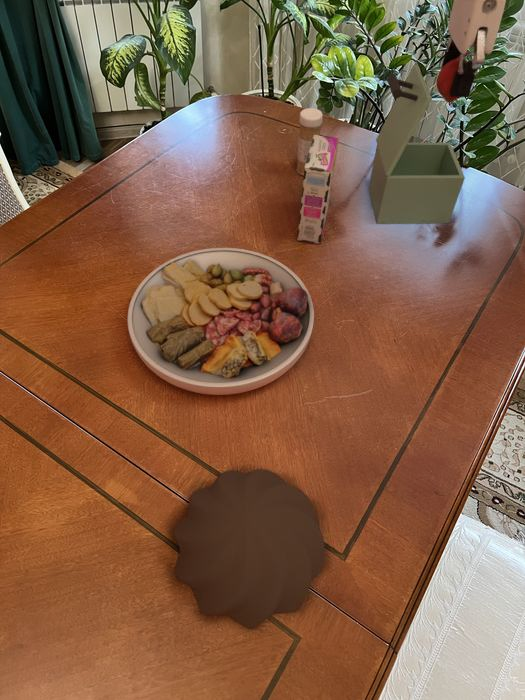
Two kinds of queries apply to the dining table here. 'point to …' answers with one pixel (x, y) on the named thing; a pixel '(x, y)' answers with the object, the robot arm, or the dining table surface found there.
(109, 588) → the dining table surface
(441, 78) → the onion
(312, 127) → the sprinkles bottle
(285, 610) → the decorative dome
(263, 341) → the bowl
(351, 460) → the dining table surface
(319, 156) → the candy bar box
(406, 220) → the compartment
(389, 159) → the lid
